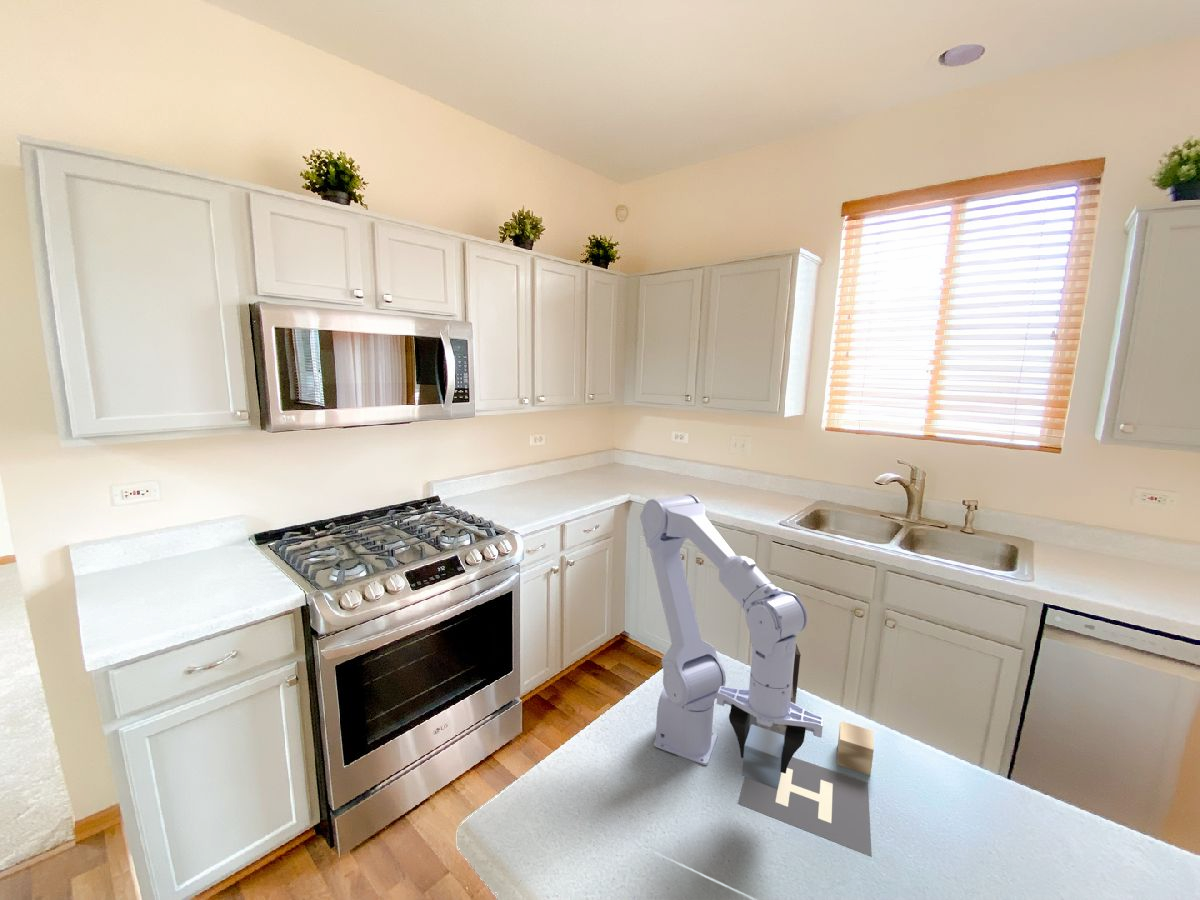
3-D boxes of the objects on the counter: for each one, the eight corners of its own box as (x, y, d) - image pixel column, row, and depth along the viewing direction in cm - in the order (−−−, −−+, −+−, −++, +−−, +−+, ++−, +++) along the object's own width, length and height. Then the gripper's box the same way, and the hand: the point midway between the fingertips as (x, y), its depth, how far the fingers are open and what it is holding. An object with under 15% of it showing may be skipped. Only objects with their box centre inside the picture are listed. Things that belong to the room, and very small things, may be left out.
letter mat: (737, 804, 76) (737, 803, 76) (753, 744, 88) (753, 743, 88) (871, 857, 68) (871, 856, 68) (867, 783, 80) (867, 782, 80)
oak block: (836, 765, 84) (839, 739, 83) (837, 746, 88) (840, 721, 88) (870, 777, 82) (873, 749, 81) (869, 756, 86) (872, 730, 85)
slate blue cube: (741, 775, 72) (744, 745, 72) (748, 753, 77) (751, 724, 76) (777, 789, 70) (780, 758, 69) (782, 765, 75) (785, 735, 74)
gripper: (713, 676, 71) (708, 760, 73) (824, 709, 65) (814, 801, 67) (725, 652, 77) (719, 730, 79) (827, 680, 71) (818, 765, 73)
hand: (763, 760), depth 73 cm, fingers closed on slate blue cube, 5 cm apart
